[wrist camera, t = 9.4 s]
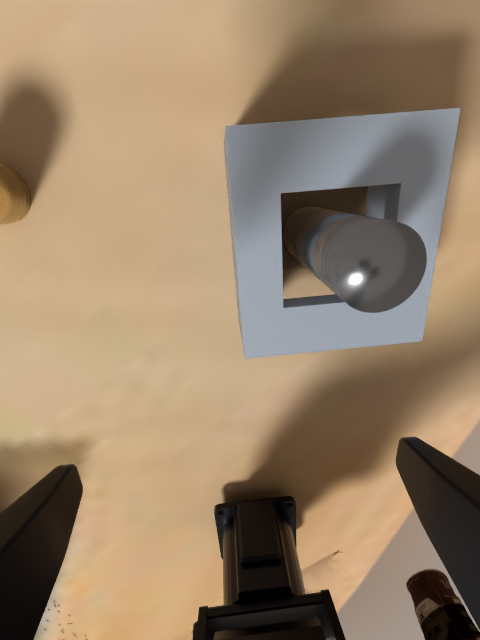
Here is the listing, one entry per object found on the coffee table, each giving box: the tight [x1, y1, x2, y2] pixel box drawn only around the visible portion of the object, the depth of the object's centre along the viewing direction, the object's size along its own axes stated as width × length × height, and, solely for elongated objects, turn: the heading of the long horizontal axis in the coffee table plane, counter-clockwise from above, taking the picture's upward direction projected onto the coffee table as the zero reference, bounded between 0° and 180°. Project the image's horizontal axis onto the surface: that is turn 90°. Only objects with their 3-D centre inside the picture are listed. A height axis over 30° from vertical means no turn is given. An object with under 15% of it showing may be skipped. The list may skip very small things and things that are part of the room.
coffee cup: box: [406, 569, 480, 640], centre depth 44 cm, size 9×8×13 cm
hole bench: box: [224, 108, 461, 359], centre depth 16 cm, size 10×9×5 cm
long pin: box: [283, 206, 427, 313], centre depth 14 cm, size 3×3×9 cm
